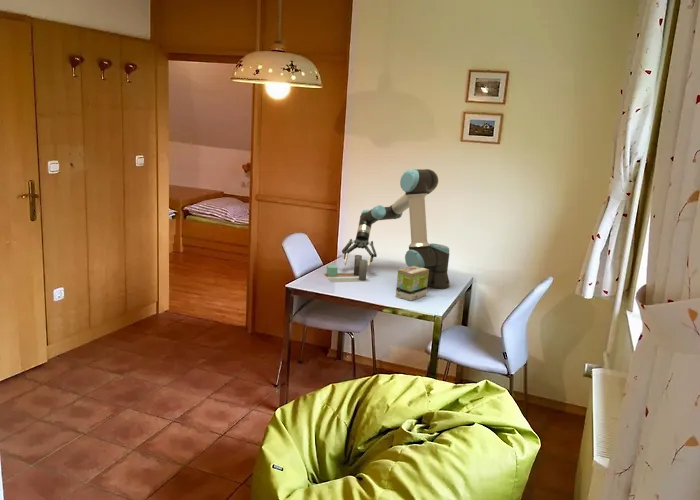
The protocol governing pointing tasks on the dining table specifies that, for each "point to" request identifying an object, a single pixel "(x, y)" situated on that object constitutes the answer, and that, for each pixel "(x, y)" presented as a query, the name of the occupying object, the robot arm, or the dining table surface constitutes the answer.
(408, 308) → the dining table surface
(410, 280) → the tea box
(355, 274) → the tan and grey stand
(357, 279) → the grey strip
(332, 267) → the teal block
